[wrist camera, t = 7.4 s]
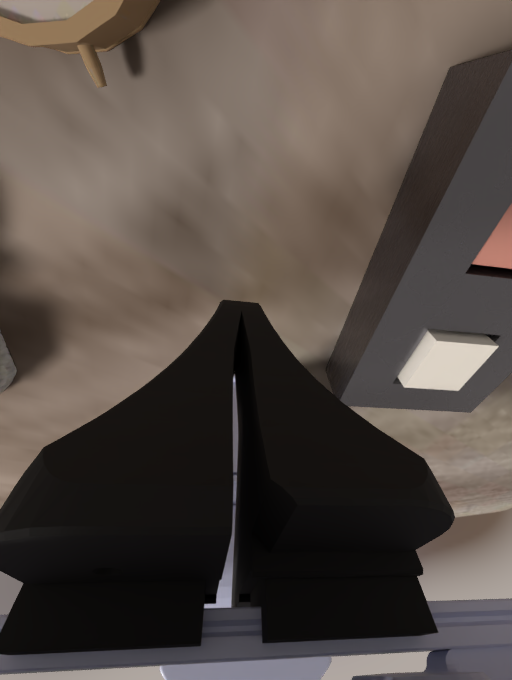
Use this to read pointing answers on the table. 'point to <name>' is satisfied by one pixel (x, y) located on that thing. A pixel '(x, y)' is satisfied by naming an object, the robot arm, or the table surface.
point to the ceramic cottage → (5, 366)
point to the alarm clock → (75, 26)
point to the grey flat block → (438, 252)
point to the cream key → (446, 360)
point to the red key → (498, 245)
